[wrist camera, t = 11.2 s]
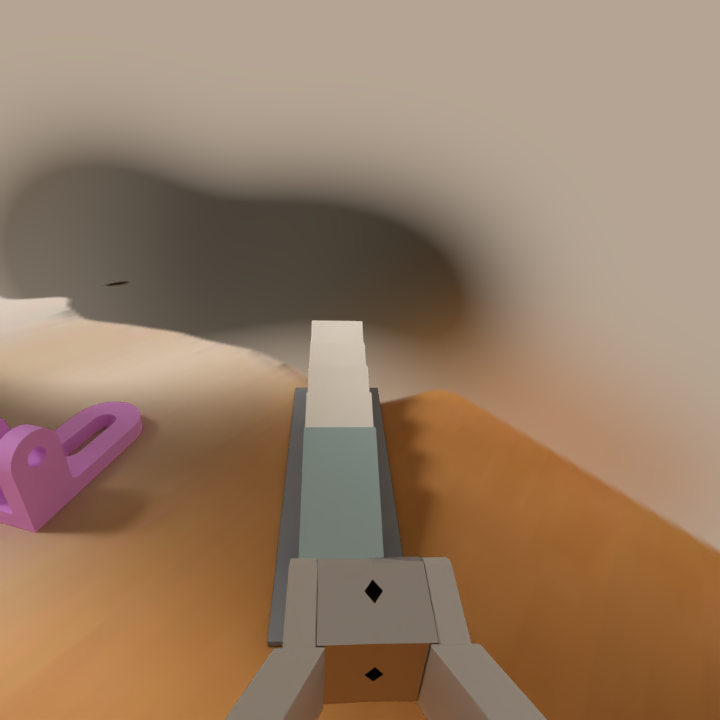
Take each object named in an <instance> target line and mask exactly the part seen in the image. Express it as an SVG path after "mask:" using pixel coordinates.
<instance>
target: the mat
mask: <svg viewBox="0 0 720 720" xmlns="http://www.w3.org/2000/svg"><path fill="white" fill-rule="evenodd" d="M307 392H308V388H296V389H295V398H294V407H293V416H292V425H291V434H290V443H289V452H288V461H287V470H286V479H285V488H284V497H283V506H282V515H281V524H280V533H279V542H278V551H277V560H276V569H275V578H274V587H273V596H272V605H271V614H270V623H269V632H268V641H267V643H268V646H283V634H284V621H285V609H286V596H287V583H288V570H289V564H290V559H291V558H299V536H300V511H301V487H302V462H303V438H304V427H305V418H306V393H307ZM369 393H372V410H373V427H376V438H377V454H378V470H379V487H380V503H381V519H382V536H383V552H384V557H403V553H402V547H401V540H400V533H399V527H398V520H397V514H396V507H395V500H394V494H393V487H392V481H391V474H390V467H389V461H388V454H387V447H386V441H385V434H384V428H383V421H382V414H381V408H380V401H379V395H378V388H369Z"/></svg>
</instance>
